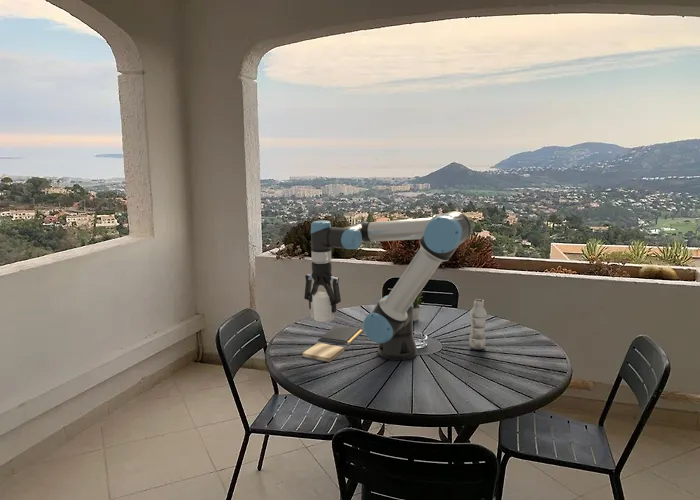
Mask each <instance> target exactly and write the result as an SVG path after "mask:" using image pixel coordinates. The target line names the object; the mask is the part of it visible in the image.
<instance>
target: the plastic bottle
mask: <svg viewBox="0 0 700 500" xmlns="http://www.w3.org/2000/svg"><path fill="white" fill-rule="evenodd" d="M484 303H485V301H484V299H480V298H479V299H478V298H475V299H474V301H473V307H472V308H471V310H470V313H469V316H470V335H469V341H468V344H469V347H470V348H471V349H473V350H478V351H479V350H480V351H481V350H483V349H484V348H485V347H486V343H487V341H486V331H485V330H486V329H485V327H486V322H487V321H486V320H487V315H488V314H487V310H486V309H485V307H484Z"/></svg>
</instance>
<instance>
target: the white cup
mask: <svg viewBox="0 0 700 500" xmlns="http://www.w3.org/2000/svg"><path fill="white" fill-rule="evenodd" d="M312 302H313V313H314V318H313V319H314V321H316V322H319V323H325V322H331V321H330V317H329V305H330V304H331V302H330V299H329V297H328V294H327V291H317V292H316V294H315V295H313V294H312Z"/></svg>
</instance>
